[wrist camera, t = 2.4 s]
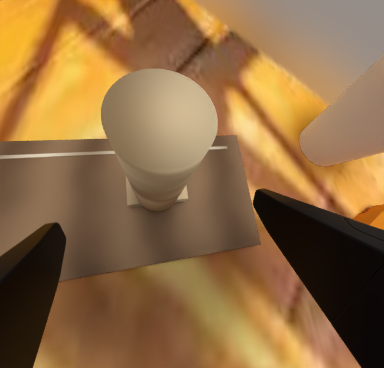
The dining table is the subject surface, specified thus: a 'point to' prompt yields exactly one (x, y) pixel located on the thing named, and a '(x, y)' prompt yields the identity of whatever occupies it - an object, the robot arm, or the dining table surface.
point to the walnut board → (120, 206)
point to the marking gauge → (158, 134)
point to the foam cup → (349, 123)
